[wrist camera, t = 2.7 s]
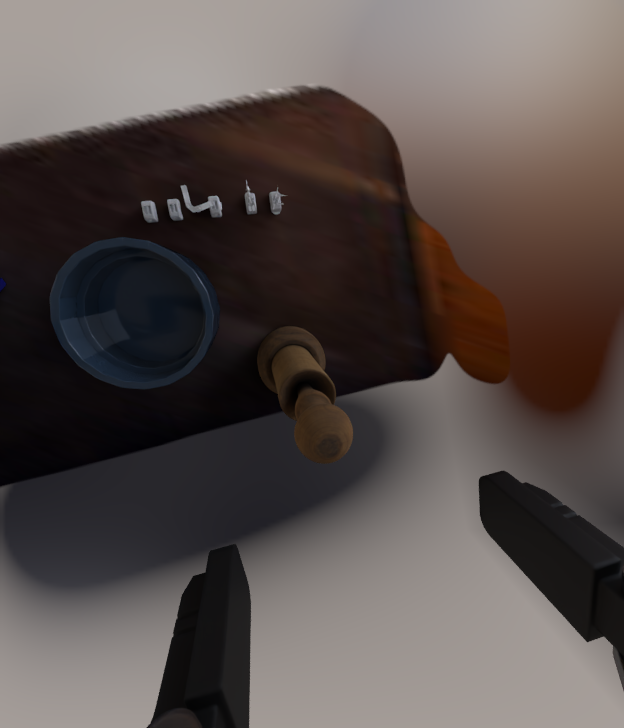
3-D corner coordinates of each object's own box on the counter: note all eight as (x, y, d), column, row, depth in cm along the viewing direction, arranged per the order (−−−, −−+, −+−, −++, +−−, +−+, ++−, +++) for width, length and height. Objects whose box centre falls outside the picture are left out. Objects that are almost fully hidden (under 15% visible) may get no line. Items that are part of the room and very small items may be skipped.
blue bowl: (113, 381, 30) (84, 403, 25) (67, 258, 27) (22, 252, 22) (233, 356, 32) (228, 371, 26) (202, 235, 28) (190, 225, 23)
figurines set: (149, 225, 28) (137, 220, 25) (140, 189, 27) (128, 179, 24) (288, 214, 29) (291, 207, 26) (284, 179, 28) (287, 168, 26)
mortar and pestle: (326, 382, 34) (399, 487, 17) (265, 396, 33) (276, 521, 16) (315, 319, 32) (385, 366, 15) (250, 333, 31) (245, 398, 14)
